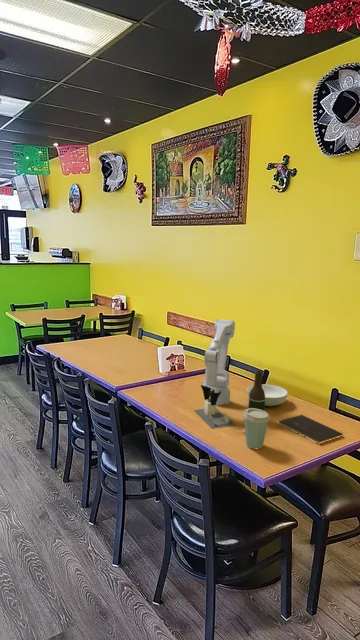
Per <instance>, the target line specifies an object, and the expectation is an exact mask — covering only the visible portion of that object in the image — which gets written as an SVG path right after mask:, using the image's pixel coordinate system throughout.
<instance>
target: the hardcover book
mask: <svg viewBox="0 0 360 640" xmlns="http://www.w3.org/2000/svg"><path fill="white" fill-rule="evenodd" d="M278 422H279V425H280V424H281V425H283V426H285V427H287V428H289V429H291V430H293V431H295V432H297V433H299V434H301V435H304V436H305V437H308V438H310V439H312V440H314V441H316V442H318V443H320V442H323V441H326V440H329V439H333V438H336V437H338V436H341V435H343V436H344V434H343V432H340V431H338V430H336V429H333V428H331V427H329V426H327V425H326V424H323V423H320V422H319V421H316V420H314V419H313V418H310V417H307V416H306V415H303V414H300V415H296V416H291V417H288V418H285V419H281V420H278ZM281 425H280V426H281ZM283 426H282V427H283ZM285 427H284V428H285ZM287 428H286V429H287ZM289 429H288V430H289ZM291 430H290V431H291ZM293 431H292V432H293ZM295 432H294V433H295ZM297 433H296V434H297ZM299 434H298V435H299ZM301 435H300V436H301ZM305 437H304V438H305Z"/></svg>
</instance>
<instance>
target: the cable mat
mask: <svg viewBox="0 0 360 640" xmlns="http://www.w3.org/2000/svg"><path fill="white" fill-rule="evenodd" d="M193 412H195V414H197V415H198V416H199V418H201V420H202V421H203V422H204V423H206V425H208V427H209V428H211V430H215V429H223V428H230V427H235V426H237V425H236V424H235V423H234V422H232V420H229V424H225V425H218V426H214V425H213V424H212V423H211V422H210V421H209V420H208V416H207V415H206V414H205V413H204V408H201V409H200V408H199V409H193ZM221 413H222V412H221V411H220V410H219V409H218V408H217V407H215V415H211V416H212V417H213V418H221Z"/></svg>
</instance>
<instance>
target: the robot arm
mask: <svg viewBox="0 0 360 640" xmlns="http://www.w3.org/2000/svg"><path fill="white" fill-rule="evenodd" d="M213 327H214V328H213V329H214V331H215V334H214V335H215V336H214V338H213V339H211V341H210V344H209V347H208V349H207V350H205V352H204V366H205V374H204V379H202V384H200V388H201V390H202V393H203V399H204V401H206V400H208V399H210V400H211V405H215V406H223V405H227V404H228V405H229V404H230V402H231V390H230V388H229V386H230V385H229V383H230V374H229V372H228V371H227V369H226V364H227V363H226V362H227V355H228V352H229V351H228V350H229V344H230V340H231V339H232V338H234V334H235V329H236V322H235V320H229V319H219V318H217V319H215V321H214V326H213Z"/></svg>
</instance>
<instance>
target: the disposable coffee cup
mask: <svg viewBox="0 0 360 640" xmlns="http://www.w3.org/2000/svg"><path fill="white" fill-rule="evenodd" d="M242 416H243V420H244V433H245V444H246V447H248V448H249V447H251V448H260V449H262V448H263V446H264V442H265V438H266V433H267V431H268V430H267V429H268V425H269V421H270V415H269V413H268V412H267V411H265V410H264V411H263V410H260V409H255V408H249V409H248V408H246V409H245V411H244V412H243V415H242ZM261 447H262V448H261ZM251 448H250V449H251Z"/></svg>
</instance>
